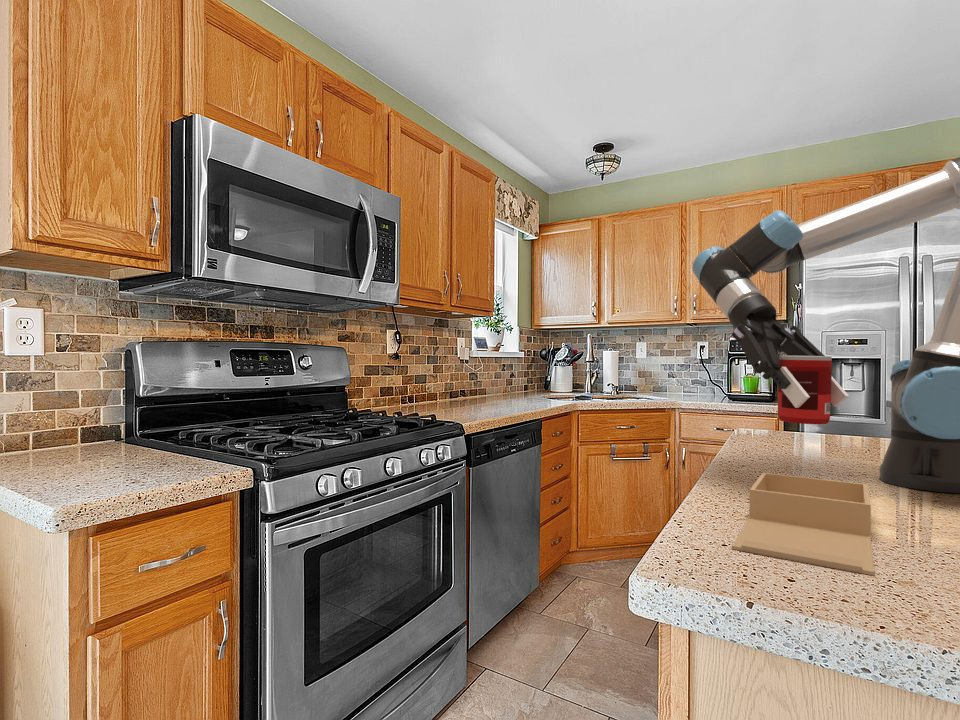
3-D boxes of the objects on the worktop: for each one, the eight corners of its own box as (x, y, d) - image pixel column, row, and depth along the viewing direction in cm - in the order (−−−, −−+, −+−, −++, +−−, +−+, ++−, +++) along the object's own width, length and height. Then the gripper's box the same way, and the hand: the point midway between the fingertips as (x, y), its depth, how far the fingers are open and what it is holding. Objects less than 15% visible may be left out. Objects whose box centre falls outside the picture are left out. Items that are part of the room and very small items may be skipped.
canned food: (816, 418, 94) (817, 355, 94) (840, 425, 86) (842, 356, 86) (769, 417, 95) (771, 355, 95) (789, 423, 87) (790, 355, 87)
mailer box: (762, 499, 90) (762, 472, 90) (867, 513, 82) (867, 484, 82) (731, 549, 66) (731, 512, 66) (874, 576, 58) (874, 534, 58)
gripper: (776, 324, 108) (852, 414, 93) (691, 321, 102) (758, 417, 87) (800, 295, 103) (884, 385, 88) (712, 290, 97) (788, 387, 82)
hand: (822, 401), depth 88 cm, fingers closed on canned food, 8 cm apart
